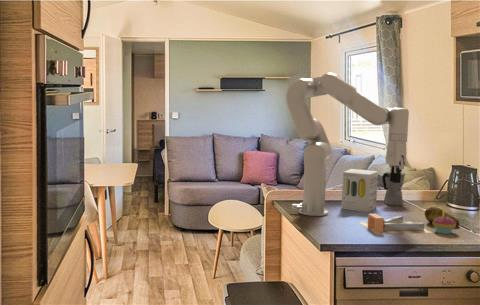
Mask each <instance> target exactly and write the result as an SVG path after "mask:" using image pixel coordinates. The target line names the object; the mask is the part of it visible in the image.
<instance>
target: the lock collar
mask: <svg viewBox="0 0 480 305" xmlns="http://www.w3.org/2000/svg"><path fill="white" fill-rule="evenodd" d="M384 218H385V217H383V216H380V215H379V214H377V213H368V214H367V222H368V228H374V232H383V222H384V220H385V219H384ZM368 228H367V229H368ZM374 232H373V233H374Z"/></svg>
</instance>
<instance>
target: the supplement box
mask: <svg viewBox="0 0 480 305" xmlns="http://www.w3.org/2000/svg"><path fill="white" fill-rule="evenodd" d="M378 178H379V171H378V170H368V169H367V170H366V169H359V168H358V169H356V168H350V169H347V170H345V171H343V172H342V190H341V208H340V209H341V210H347V211H348V210H349V211H355V212H364V213H367V212H371V211H373V210H374V209H376V208H377V197H378V196H377V194H378Z"/></svg>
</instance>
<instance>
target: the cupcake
mask: <svg viewBox="0 0 480 305" xmlns="http://www.w3.org/2000/svg"><path fill="white" fill-rule="evenodd" d="M444 211H445V205H444V203H442V213H443V216H442V217H437V218H435V219H434V220H433V223H432V226H433V227H434V230H435V232H436V233H439V234H443V235H447V234H448V235H449V234H451V233H452V231H453V230H454V229H455V228H457V227H456V222H455V221H454V220H453V219H451V218H448V217H444Z"/></svg>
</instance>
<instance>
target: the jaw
mask: <svg viewBox="0 0 480 305" xmlns="http://www.w3.org/2000/svg"><path fill="white" fill-rule="evenodd" d="M403 222H404V215H403V216H402V215H397V216H393V217H390V218H386V219H384V223H403Z"/></svg>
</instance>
